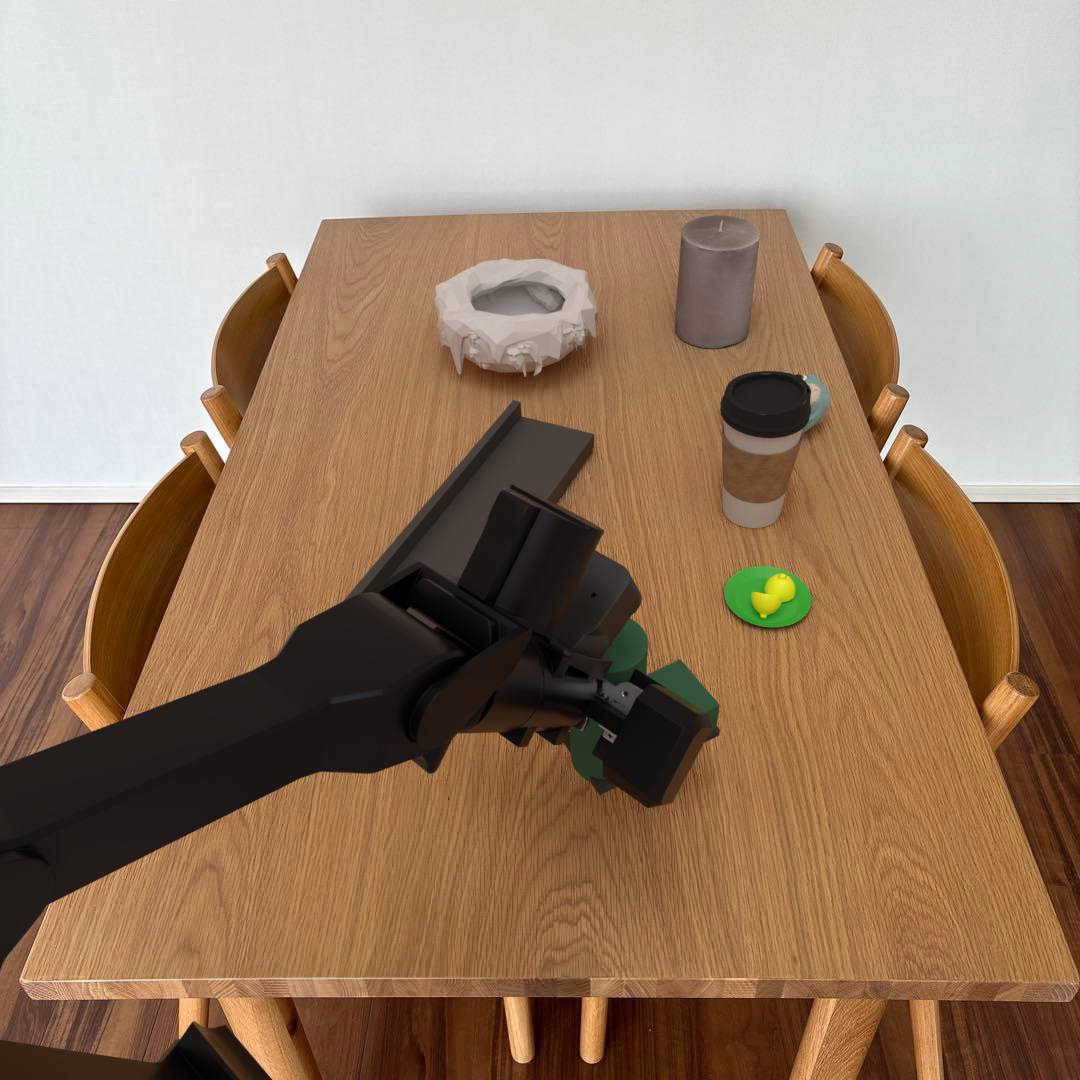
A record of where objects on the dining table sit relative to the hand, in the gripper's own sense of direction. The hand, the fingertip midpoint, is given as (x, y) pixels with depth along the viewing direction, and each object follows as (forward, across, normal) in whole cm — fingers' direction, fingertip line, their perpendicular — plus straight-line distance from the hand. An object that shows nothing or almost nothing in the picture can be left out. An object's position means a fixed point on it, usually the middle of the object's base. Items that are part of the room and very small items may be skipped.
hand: (619, 687), depth 66 cm
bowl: (+40, +50, -21) cm, 67 cm away
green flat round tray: (+28, +2, -9) cm, 29 cm away
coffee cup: (+35, +10, -16) cm, 39 cm away
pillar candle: (+54, +34, -36) cm, 73 cm away
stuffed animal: (+45, +17, -26) cm, 55 cm away
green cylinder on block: (+6, -1, +4) cm, 7 cm away
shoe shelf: (+17, +28, +2) cm, 33 cm away
